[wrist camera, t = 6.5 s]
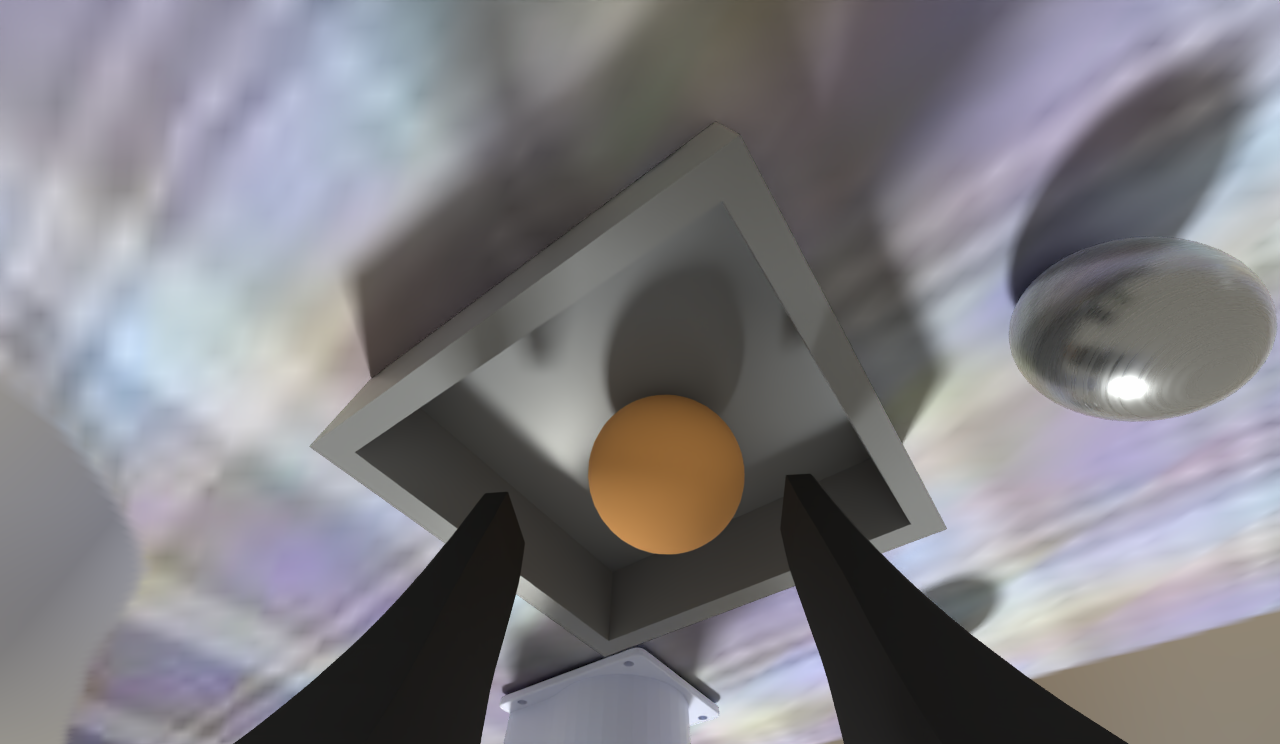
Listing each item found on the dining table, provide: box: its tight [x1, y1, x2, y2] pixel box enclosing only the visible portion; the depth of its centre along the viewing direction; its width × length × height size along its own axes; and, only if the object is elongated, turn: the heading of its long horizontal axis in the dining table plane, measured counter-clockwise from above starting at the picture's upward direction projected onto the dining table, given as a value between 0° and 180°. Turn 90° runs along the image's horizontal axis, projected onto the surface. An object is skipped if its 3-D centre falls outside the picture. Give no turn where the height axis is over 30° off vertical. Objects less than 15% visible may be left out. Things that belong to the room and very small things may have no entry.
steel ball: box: [1009, 237, 1277, 422], centre depth 11 cm, size 4×4×4 cm
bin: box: [309, 121, 947, 657], centre depth 14 cm, size 13×13×3 cm
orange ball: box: [588, 395, 745, 554], centre depth 13 cm, size 4×4×4 cm
